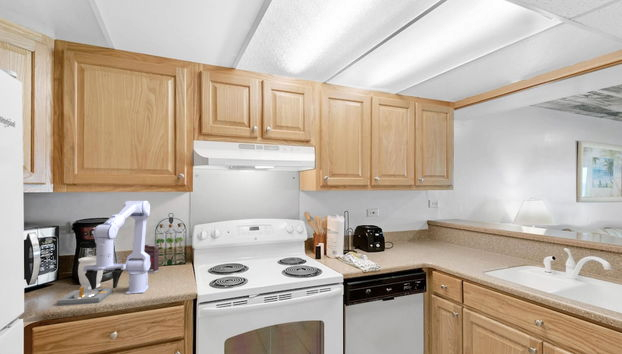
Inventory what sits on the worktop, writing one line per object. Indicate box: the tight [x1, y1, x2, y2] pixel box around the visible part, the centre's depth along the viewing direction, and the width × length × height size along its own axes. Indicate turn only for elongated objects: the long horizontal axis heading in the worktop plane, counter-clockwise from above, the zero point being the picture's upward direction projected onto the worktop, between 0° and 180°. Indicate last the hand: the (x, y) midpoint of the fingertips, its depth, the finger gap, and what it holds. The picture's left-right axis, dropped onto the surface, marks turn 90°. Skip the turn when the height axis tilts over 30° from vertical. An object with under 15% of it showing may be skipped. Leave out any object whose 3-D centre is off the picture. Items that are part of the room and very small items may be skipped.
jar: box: [77, 255, 104, 289], centre depth 151 cm, size 11×10×15 cm
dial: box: [74, 285, 99, 298], centre depth 136 cm, size 9×9×5 cm
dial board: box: [56, 287, 114, 307], centre depth 136 cm, size 13×16×2 cm
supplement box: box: [140, 244, 160, 274], centre depth 178 cm, size 9×5×16 cm, turn 86°
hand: (104, 288), depth 121 cm, fingers open, 7 cm apart
